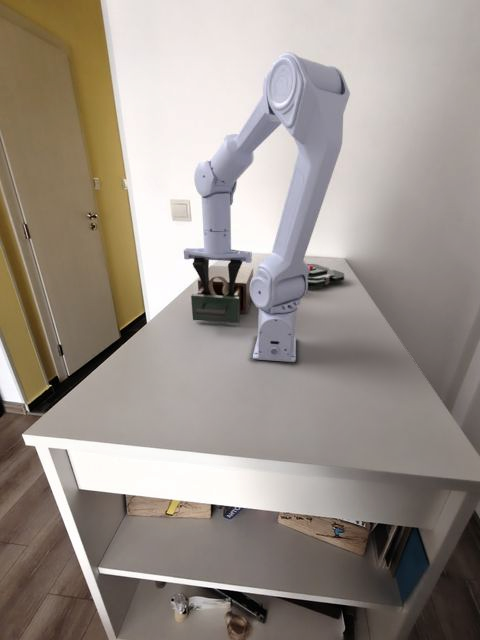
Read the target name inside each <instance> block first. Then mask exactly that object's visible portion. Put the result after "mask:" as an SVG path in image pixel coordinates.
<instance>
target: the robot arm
mask: <svg viewBox="0 0 480 640" xmlns="http://www.w3.org/2000/svg"><path fill="white" fill-rule="evenodd" d="M350 96H351V92H350V90H349V87H348V84H347V82H346V79H345V76H344V74H343V72H342V71H341V70H340V69H339V68H337V67H336V66H331V65H325V64H323V63H320V62H316V61H312V60H310V59H306V58H303V57H301V56H298V55H297V54H295V53H293V52H290V51H289V52H283V53H282V54H280V55H279V56H278V57H277V58H276V59H275V60H274V62H273V64H272V66H271V68H270V70H269V71H268V72H267V73H266V74H265V75H264V77H263V83H262V95H261V97H260V98H259V100H258V102H257V103H256V105H255V106H254V108H253V110H252V111H251V113H250V115H249V116H248V118H247V119H246V121H245V123H244V124H243V126H242V127H241V129H240V131H239V132H238V134H237V133H232V134H227V135H226V136H225V137H224V138H223V142H222V143H221V144H220V146H219V147H218V149H217V150H216V151H215V153H214V154H213V156H212V157H211V158H210V160H206V162H205V161H200V162H198V163H197V166H196V168H195V170H194V175H193V176H194V177H193V178H194V180H193V181H194V187H195V189H196V192H197V193H198V194H199V196H200V198H201V213H202V229H203V230H202V231H203V234H202V235H203V248H202V247H201V248H185V249H183V258H184V259H183V260H193V262H192V267H193V269H194V270H195V272H196V274H197V275H198V277H199V279H201V282H202V285H203V288H204V292H205V293H208V291H209V267H210V261H225V262H228V264H227V266H228V271H229V294H233V292H234V285H235V281H236V277H237V274H238V272H239V269H240V267H242V265H243V263H244V262H245V263H247V264H251V263H252V262H253V261H252V260H253V251H248V250H247V251H246V250H239V249H232V218H231V217H232V212H231V210H232V209H231V207H232V205H233V203H234V195H235V192H236V191H237V185H238V184H237V183H238V180H239V179H240V178H241V176H242V175H243V174H244V173H245V172H246V171H247V169H249V167H251V165H253V162H254V160H255V154H254V153H255V152H254V151H255V150H257V148H259V146H260V145H261V144H263V142H264V141H266V140H267V139H268V137H270V136H271V134H273V133H274V132H275V131H276V130H277V129H279V127H280V126H283V127H284V128H285V129H286V130H287V132H288V134H290V136H291V137H292V138H293V139H294V142H295V144H296V147H297V150H298V152H297V155H296V159H295V163H294V167H293V171H292V174H291V178H290V181H289V182H290V183H289V186H288V189H287V194H286V197H285V201H284V203H283V209H282V212H281V216H280V219H279V223H278V227H277V230H276V235H275V239H274V242H273V246H272V250H271V252H270V254H268V256H267V257H265V258H264V259H263V260H262V261H261V262H260V263H259V264H258V265H257V270H256V272H255V274H253V278H252V279H251V282H250V296H251V301H252V302H253V304H254V305H255V307H256V308H257V309H258V318H257V319H258V321H257V322H258V323H257V324H258V325H257V337H256V342H255V346H254V349H253V353H252V359H253V360H260V361H261V360H262V361H272V362H273V361H275V362H287V363H295V362H296V359H297V357H296V356H297V355H296V354H297V352H296V351H297V338H296V325H297V314H298V306H300V305H301V299H303V298H305V296H306V295H307V292H308V289H309V286H308V274H309V272H310V268H309V267H308V265H307V264H308V263H307V262H306V261H305V260H304V259H305V257H306V253H307V250H308V247H309V244H310V242H311V238H312V235H313V234H314V233H313V232H314V230H315V226H316V224H317V222H318V218H319V215H320V212H321V209H322V206H323V203H324V200H325V197H326V195H327V191H328V188H329V185H330V182H331V179H332V177H333V175H334V174H333V173H334V171H335V167H336V164H337V161H338V159H339V156H340V153H341V150H342V145H343V137H344V135H343V133H344V114H345V111H346V108H347V104H348V102H349V99H350ZM306 263H307V264H306Z"/></svg>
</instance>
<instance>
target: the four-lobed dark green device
mask: <svg viewBox="0 0 480 640" xmlns="http://www.w3.org/2000/svg"><path fill="white" fill-rule="evenodd" d="M305 263H306V264H307V265H308V267H309V268H310V272H309V274H308V288H309V287H310V288H318V287H321V286H325V285H329V284H330V283H339V282H342V281H344V280H345V273H344V272H342V271H339V270H336V269H330V268H329V267H328V266H323V265H320V264H317V263H307V262H305Z"/></svg>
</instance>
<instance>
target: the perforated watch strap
mask: <svg viewBox="0 0 480 640" xmlns="http://www.w3.org/2000/svg"><path fill="white" fill-rule="evenodd" d="M215 278H218V279H220V280H221V281H222V282H223V285H224V286H223V294H224V296H227V295H228V293H229V284H227V283H228V282H227V281H226V280H225V279H224V278H223V277H221V276H216V277H213V278H212V279H211V280H210V281H209V290H210V292H211V294H212V295H217V294H216V293H215V292H214V289H213V280H214V279H215ZM217 296H218V295H217Z"/></svg>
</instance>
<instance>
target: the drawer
mask: <svg viewBox="0 0 480 640" xmlns="http://www.w3.org/2000/svg"><path fill="white" fill-rule="evenodd" d="M223 286H224V285H213V289H214V292H215V293H216V294H217V295H218V296H217V295H212V294H211V292H210V290H209V291H208V293H205V292H204V288H203V286H202V288H201V289H200V290H199V292H198V291H197V293H192V294H191V295H190V300H191V312H192V313H191V314H192V321H201V322H213V323H214V322H216V323H230V324H239V323H240V313H239V312H240V309H241V307H242V304H243V286H234V292H233V294H229V293H228V295H227V296H224V294H223Z"/></svg>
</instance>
